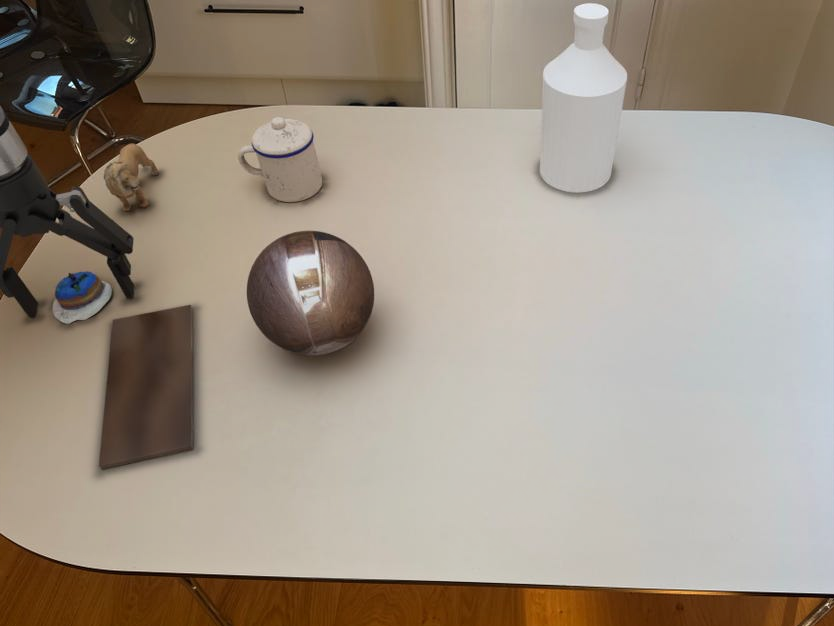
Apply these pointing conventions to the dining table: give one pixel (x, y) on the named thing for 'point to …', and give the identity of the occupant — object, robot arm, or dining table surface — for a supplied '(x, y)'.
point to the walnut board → (149, 387)
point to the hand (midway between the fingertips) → (82, 300)
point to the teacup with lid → (285, 159)
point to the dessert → (80, 296)
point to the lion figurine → (128, 175)
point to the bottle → (581, 107)
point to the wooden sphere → (310, 292)
